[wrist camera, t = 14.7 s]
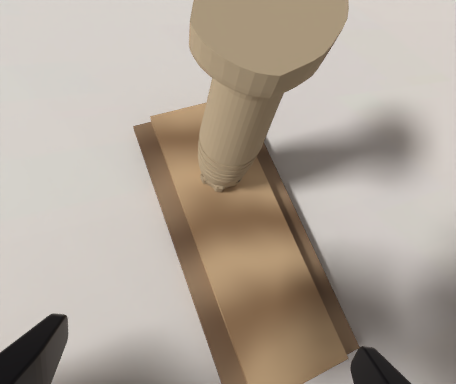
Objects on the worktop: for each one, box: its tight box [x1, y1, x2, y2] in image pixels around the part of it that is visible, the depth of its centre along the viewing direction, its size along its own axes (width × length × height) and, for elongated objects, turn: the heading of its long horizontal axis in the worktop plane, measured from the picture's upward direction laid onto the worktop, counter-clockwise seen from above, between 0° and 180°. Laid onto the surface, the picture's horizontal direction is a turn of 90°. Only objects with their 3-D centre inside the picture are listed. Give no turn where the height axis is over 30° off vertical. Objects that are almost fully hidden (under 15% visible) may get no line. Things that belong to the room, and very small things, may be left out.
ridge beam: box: [133, 103, 360, 384], centre depth 24 cm, size 22×10×2 cm, turn 22°
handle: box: [189, 0, 349, 192], centre depth 17 cm, size 5×6×15 cm
